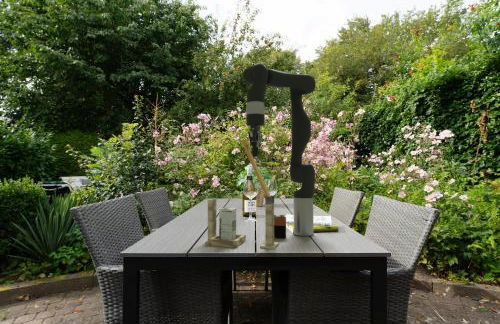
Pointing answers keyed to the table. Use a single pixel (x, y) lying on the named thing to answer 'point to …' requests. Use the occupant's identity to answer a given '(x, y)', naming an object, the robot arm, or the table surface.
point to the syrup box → (227, 223)
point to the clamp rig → (269, 235)
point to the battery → (279, 226)
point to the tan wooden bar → (255, 167)
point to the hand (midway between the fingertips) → (255, 156)
